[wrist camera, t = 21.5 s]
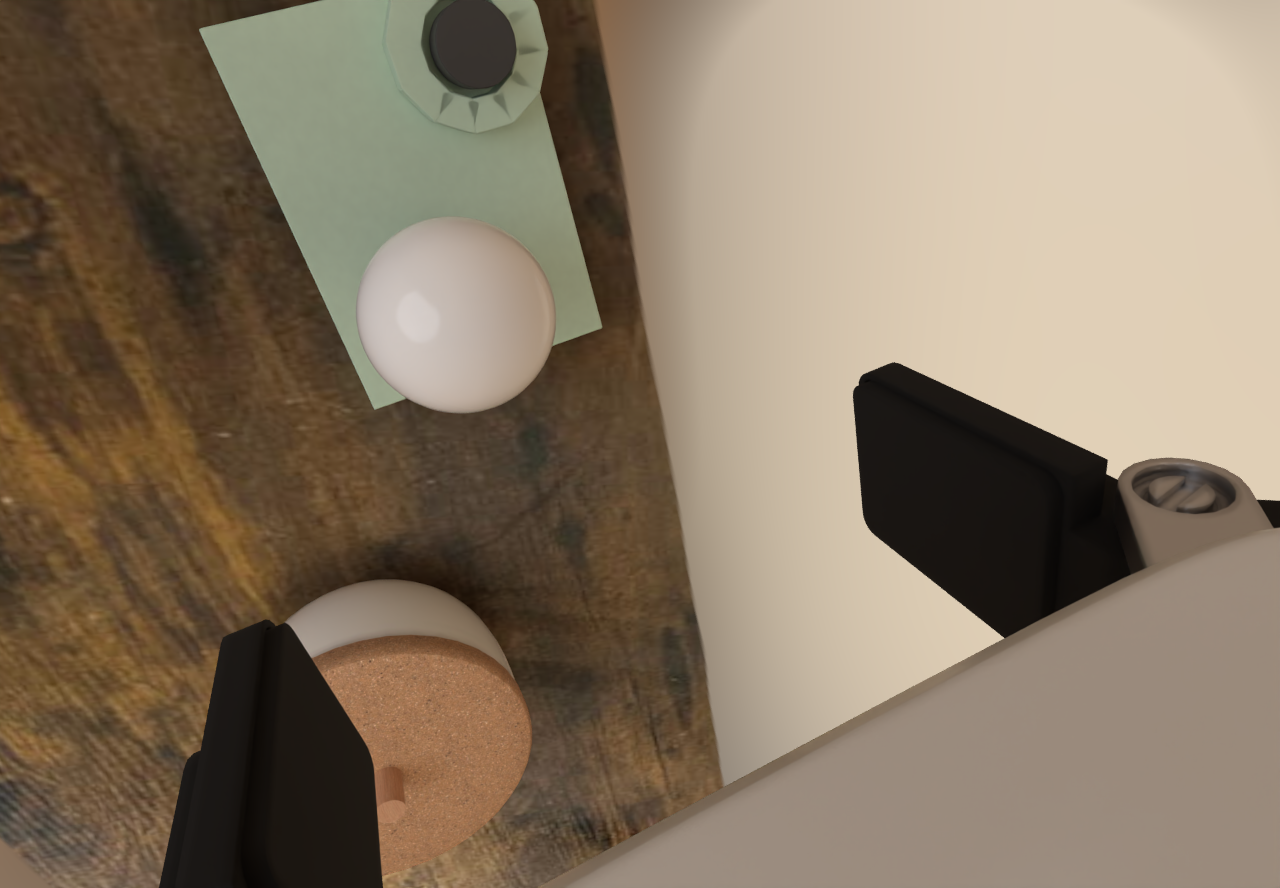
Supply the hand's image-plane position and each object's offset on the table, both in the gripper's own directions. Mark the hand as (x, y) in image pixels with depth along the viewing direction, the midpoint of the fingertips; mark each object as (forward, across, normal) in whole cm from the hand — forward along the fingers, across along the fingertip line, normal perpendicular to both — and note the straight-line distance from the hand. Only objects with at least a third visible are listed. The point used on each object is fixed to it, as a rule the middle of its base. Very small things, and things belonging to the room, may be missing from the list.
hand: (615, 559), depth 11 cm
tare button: (+22, -4, -7) cm, 23 cm away
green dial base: (+24, -1, -2) cm, 24 cm away
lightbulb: (+23, 0, 0) cm, 23 cm away
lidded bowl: (+24, +10, +18) cm, 32 cm away
